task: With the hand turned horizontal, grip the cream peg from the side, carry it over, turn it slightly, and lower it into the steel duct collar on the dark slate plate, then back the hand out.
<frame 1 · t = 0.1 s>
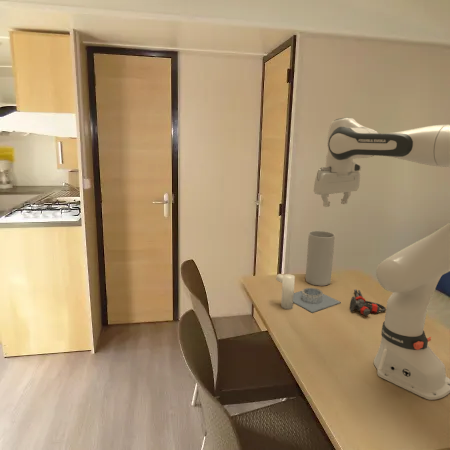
hand: (335, 205, 132), 48 cm above the table, tool pointing down, fingers open, 8 cm apart
cylinder vase: (317, 281, 187), on the table
cream peg: (286, 306, 159), on the table
slate plate: (311, 300, 166), on the table
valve: (365, 306, 162), on the table
duct collar: (311, 295, 165), on the slate plate, point 2 cm above the table
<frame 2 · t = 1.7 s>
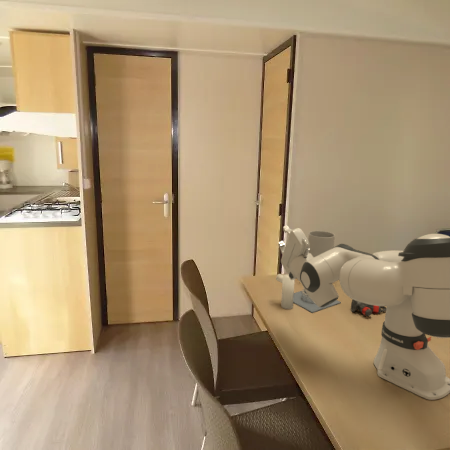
hand: (282, 235, 134), 37 cm above the table, tool pointing upward, fingers open, 8 cm apart
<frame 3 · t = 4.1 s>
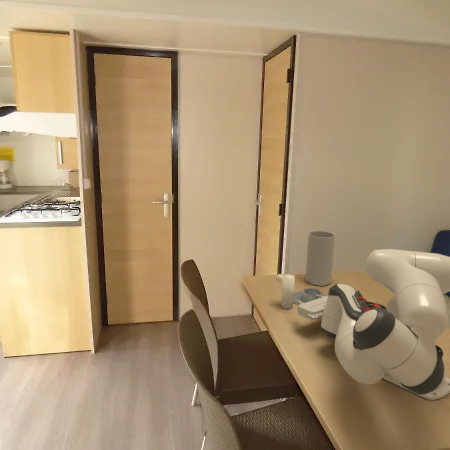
hand: (306, 298, 148), 8 cm above the table, tool horizontal, fingers open, 8 cm apart
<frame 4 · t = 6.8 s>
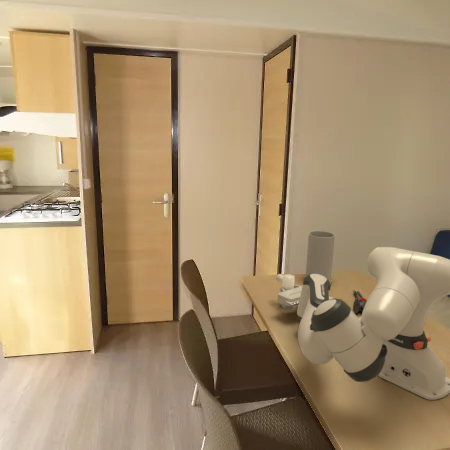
hand: (286, 287, 158), 8 cm above the table, tool horizontal, fingers closed on cream peg, 5 cm apart
cream peg: (286, 306, 159), on the table, touching gripper
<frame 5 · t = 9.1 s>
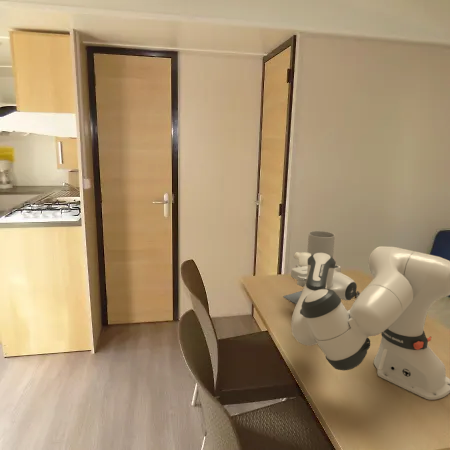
hand: (303, 265, 160), 17 cm above the table, tool horizontal, fingers closed on cream peg, 5 cm apart
cream peg: (303, 284, 161), point 9 cm above the table, touching gripper
when the fingers open (10 cm above the table, at t = 11.6 s): cream peg drops 1 cm, resting on slate plate.
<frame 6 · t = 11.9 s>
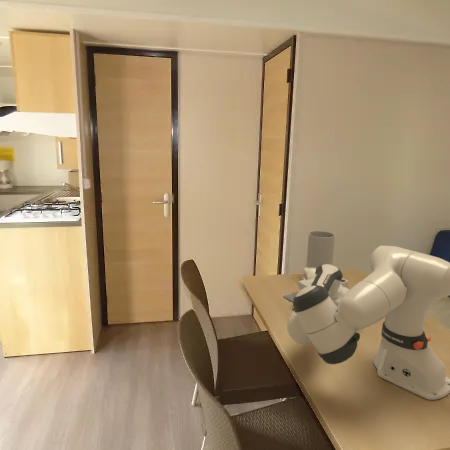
hand: (312, 277, 164), 10 cm above the table, tool horizontal, fingers open, 8 cm apart
cream peg: (311, 299, 165), point 1 cm above the table, touching slate plate
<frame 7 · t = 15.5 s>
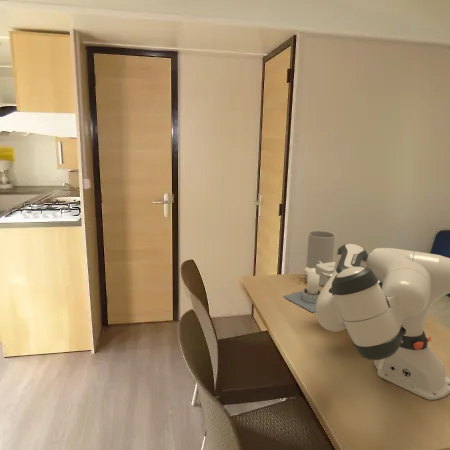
hand: (329, 261, 149), 23 cm above the table, tool horizontal, fingers open, 8 cm apart
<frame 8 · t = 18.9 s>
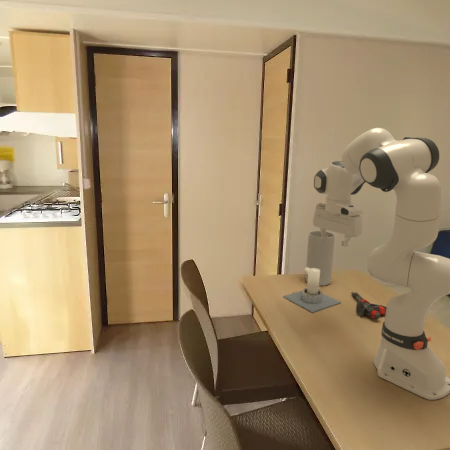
hand: (334, 242, 138), 33 cm above the table, tool pointing down, fingers open, 8 cm apart
at the end: cream peg 0.1 cm off-centre on the duct collar, point 0.5 cm above the duct collar's base; cream peg tilted 0°; the gripper is holding nothing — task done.
